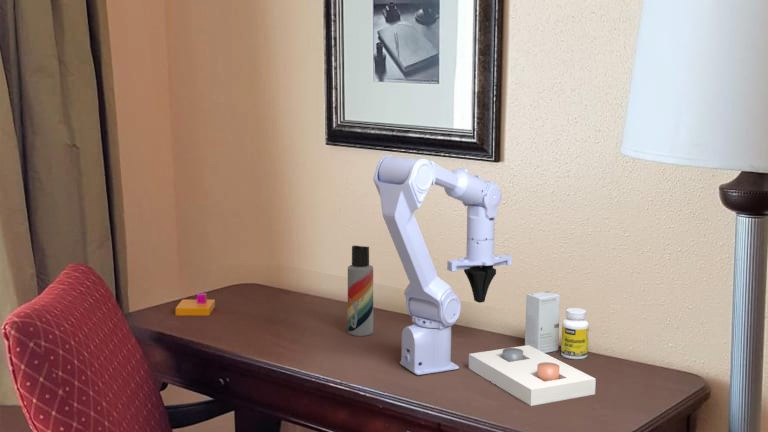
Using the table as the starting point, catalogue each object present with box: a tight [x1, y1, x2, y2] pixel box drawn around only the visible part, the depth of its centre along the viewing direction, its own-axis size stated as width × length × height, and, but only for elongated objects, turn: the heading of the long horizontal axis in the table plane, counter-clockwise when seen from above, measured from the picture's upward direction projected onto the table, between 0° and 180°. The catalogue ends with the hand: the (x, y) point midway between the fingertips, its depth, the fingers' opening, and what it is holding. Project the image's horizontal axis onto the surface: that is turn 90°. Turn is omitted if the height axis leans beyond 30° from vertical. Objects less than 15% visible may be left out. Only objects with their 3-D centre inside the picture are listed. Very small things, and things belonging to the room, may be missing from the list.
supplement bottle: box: [560, 307, 590, 360], centre depth 192 cm, size 5×5×10 cm
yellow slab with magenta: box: [174, 292, 216, 316], centre depth 225 cm, size 8×8×4 cm
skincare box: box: [524, 290, 561, 354], centre depth 195 cm, size 6×4×12 cm
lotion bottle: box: [347, 245, 374, 337], centre depth 206 cm, size 6×6×20 cm
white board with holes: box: [468, 345, 597, 407], centre depth 177 cm, size 14×22×3 cm, turn 25°
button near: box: [537, 362, 559, 382], centre depth 172 cm, size 4×4×4 cm
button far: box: [502, 347, 523, 362], centre depth 182 cm, size 4×4×4 cm
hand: (479, 301), depth 195 cm, fingers closed
